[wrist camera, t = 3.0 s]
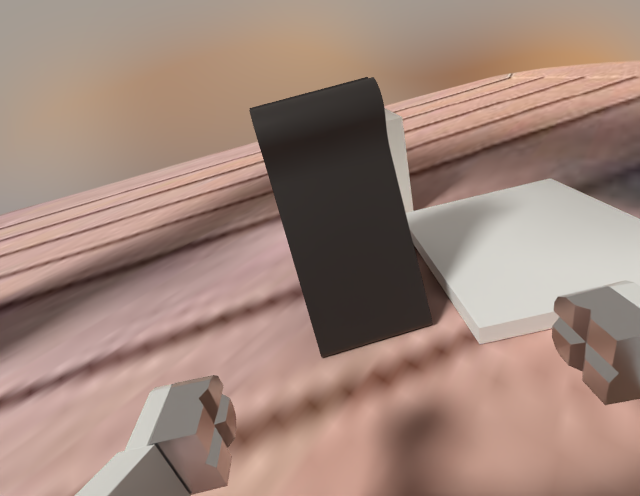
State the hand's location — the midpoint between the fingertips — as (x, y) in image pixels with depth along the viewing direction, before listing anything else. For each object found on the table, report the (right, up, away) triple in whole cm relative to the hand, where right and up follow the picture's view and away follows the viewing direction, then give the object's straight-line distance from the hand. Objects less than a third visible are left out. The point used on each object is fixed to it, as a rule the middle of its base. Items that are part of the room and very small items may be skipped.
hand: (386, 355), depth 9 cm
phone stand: (+1, -1, +14) cm, 14 cm away
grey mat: (+11, +3, +14) cm, 18 cm away
